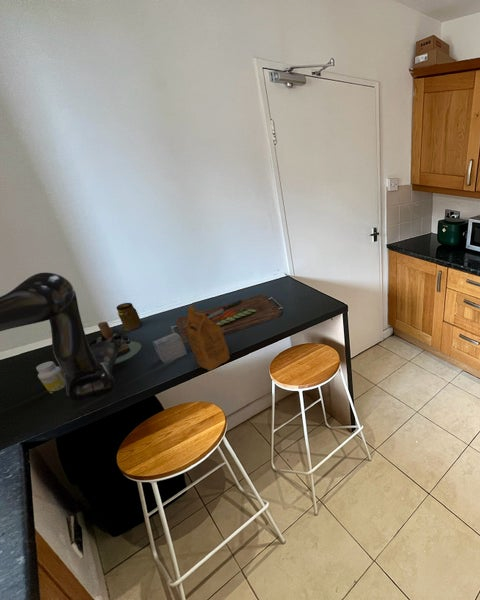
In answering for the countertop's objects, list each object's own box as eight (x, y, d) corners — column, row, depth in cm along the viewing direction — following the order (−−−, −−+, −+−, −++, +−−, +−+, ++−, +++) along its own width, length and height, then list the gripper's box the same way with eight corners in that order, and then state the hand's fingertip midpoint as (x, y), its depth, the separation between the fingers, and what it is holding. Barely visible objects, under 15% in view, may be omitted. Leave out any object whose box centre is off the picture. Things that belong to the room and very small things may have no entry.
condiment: (123, 329, 137) (111, 305, 131) (146, 321, 143) (136, 298, 137) (128, 335, 133) (116, 310, 127) (151, 327, 139) (141, 303, 133)
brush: (109, 360, 115) (92, 329, 109) (105, 358, 117) (88, 326, 111) (131, 350, 121) (116, 320, 115) (126, 348, 122) (111, 318, 116)
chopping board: (178, 350, 123) (175, 343, 122) (168, 323, 142) (166, 317, 140) (288, 313, 149) (287, 308, 148) (268, 294, 167) (267, 289, 166)
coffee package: (218, 348, 124) (202, 299, 114) (234, 360, 118) (219, 309, 108) (191, 361, 117) (172, 309, 107) (207, 374, 111) (188, 320, 101)
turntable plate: (100, 374, 111) (99, 372, 110) (80, 360, 118) (79, 358, 117) (150, 350, 123) (149, 348, 123) (129, 339, 130) (128, 337, 130)
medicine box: (182, 350, 123) (175, 331, 119) (187, 354, 121) (180, 335, 117) (159, 360, 118) (151, 341, 114) (165, 365, 115) (156, 345, 111)
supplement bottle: (60, 382, 107) (45, 359, 103) (75, 382, 107) (61, 359, 102) (44, 393, 102) (27, 370, 98) (60, 394, 102) (44, 370, 98)
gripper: (123, 341, 106) (129, 319, 119) (68, 354, 99) (81, 330, 113) (132, 359, 109) (137, 335, 123) (79, 373, 103) (90, 347, 116)
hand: (110, 333), depth 117 cm, fingers closed on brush, 2 cm apart
